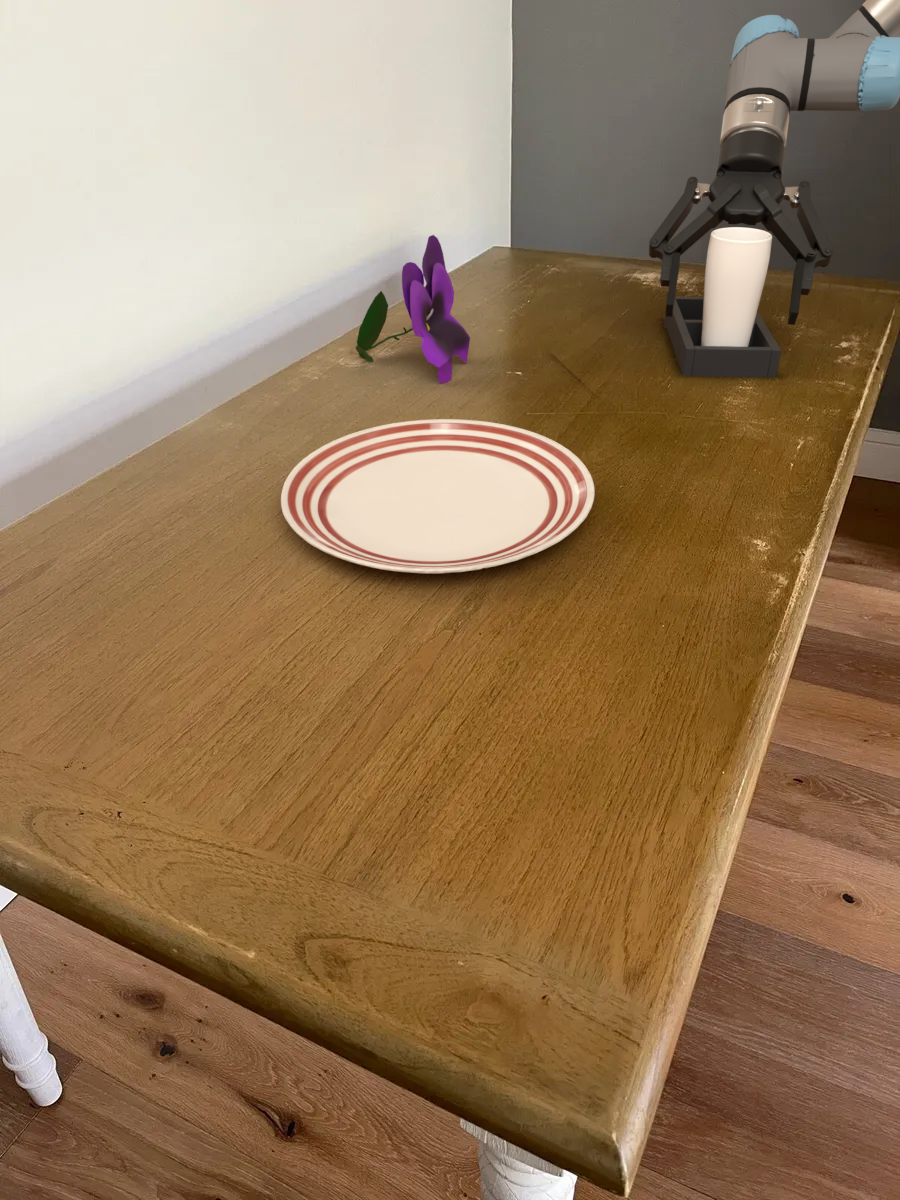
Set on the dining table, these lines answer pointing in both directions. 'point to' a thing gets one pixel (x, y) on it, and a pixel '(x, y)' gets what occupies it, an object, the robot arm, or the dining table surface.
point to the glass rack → (718, 359)
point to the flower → (422, 313)
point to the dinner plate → (437, 495)
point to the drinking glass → (733, 284)
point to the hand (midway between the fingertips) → (730, 315)
